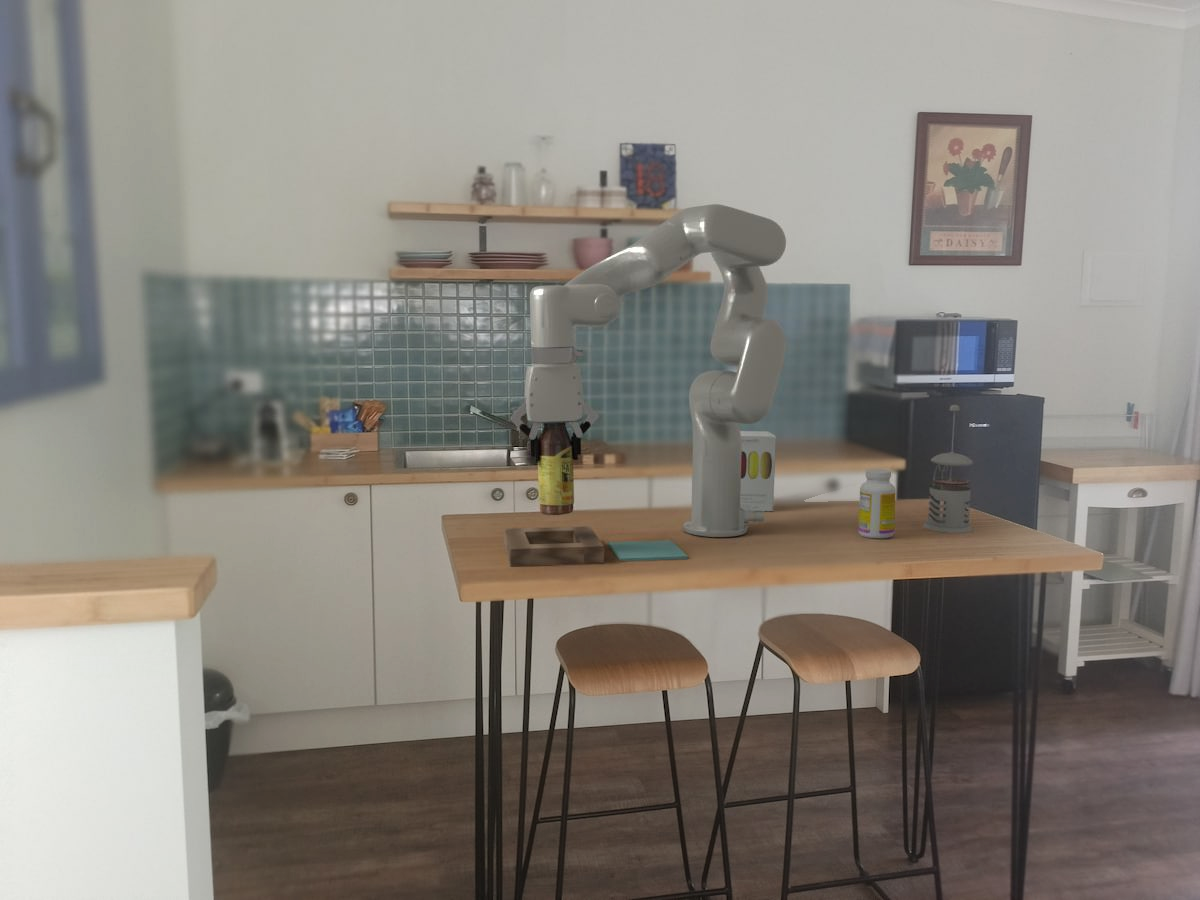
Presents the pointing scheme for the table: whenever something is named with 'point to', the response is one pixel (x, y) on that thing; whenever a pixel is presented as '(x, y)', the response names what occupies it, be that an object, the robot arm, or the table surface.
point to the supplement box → (757, 470)
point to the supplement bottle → (877, 505)
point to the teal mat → (647, 550)
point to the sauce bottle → (555, 470)
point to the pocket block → (553, 546)
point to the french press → (949, 494)
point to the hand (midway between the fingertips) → (555, 459)
